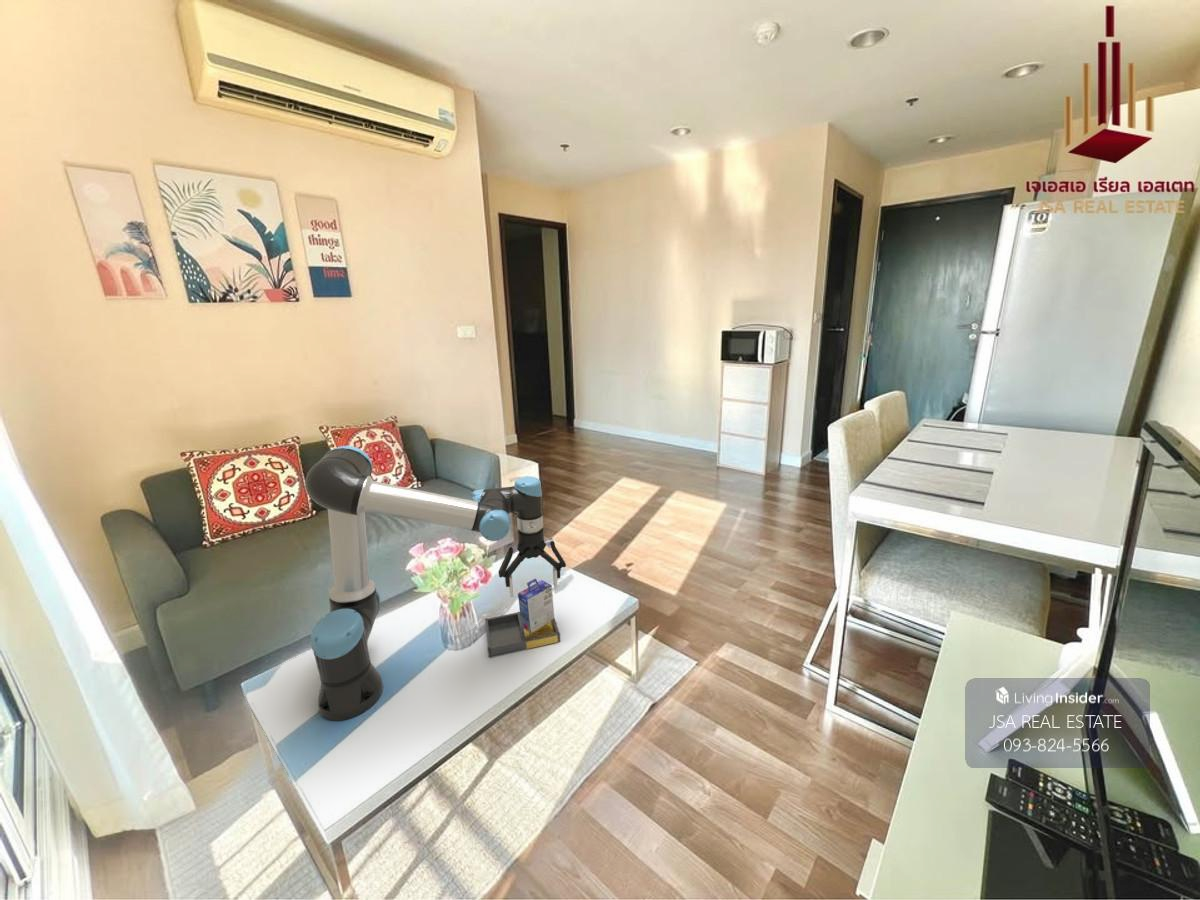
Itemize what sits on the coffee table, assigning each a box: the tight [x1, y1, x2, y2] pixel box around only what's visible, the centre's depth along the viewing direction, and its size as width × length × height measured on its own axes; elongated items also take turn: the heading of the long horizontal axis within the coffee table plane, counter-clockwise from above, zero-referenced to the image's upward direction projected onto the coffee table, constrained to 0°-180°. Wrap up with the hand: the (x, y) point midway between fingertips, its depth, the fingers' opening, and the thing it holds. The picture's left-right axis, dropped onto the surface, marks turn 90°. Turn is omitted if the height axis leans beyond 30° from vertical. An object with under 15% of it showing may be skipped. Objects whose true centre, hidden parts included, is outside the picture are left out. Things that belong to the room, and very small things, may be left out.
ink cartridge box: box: [517, 578, 555, 633], centre depth 144 cm, size 10×6×14 cm, turn 136°
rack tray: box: [484, 611, 561, 658], centre depth 145 cm, size 21×15×3 cm
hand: (533, 591), depth 143 cm, fingers open, 13 cm apart
